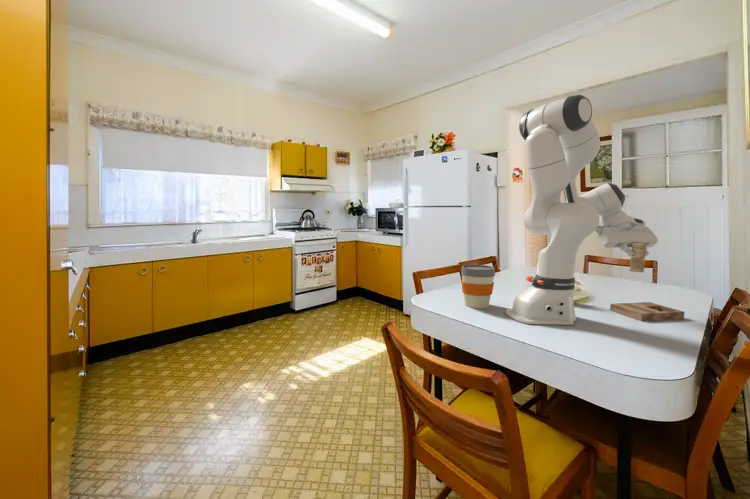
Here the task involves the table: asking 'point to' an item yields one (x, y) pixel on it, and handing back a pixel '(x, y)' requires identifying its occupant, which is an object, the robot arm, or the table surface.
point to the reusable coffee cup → (477, 285)
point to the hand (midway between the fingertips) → (639, 255)
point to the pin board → (647, 311)
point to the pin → (638, 257)
